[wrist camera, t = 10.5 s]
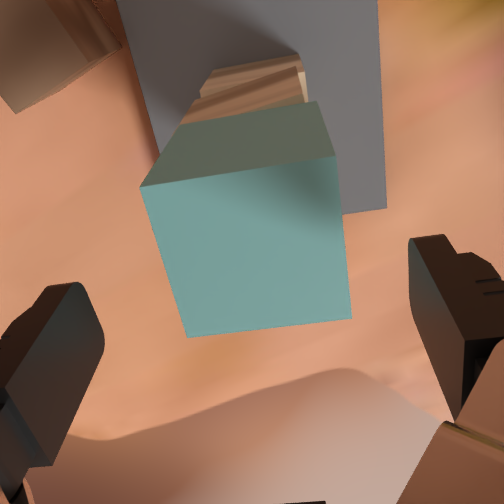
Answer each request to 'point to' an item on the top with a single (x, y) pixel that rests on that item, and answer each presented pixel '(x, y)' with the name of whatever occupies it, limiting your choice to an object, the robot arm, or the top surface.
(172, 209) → the teal block
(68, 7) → the walnut block
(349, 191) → the slate board
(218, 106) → the tower top block
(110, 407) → the top surface
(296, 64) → the tower base block
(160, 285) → the top surface
